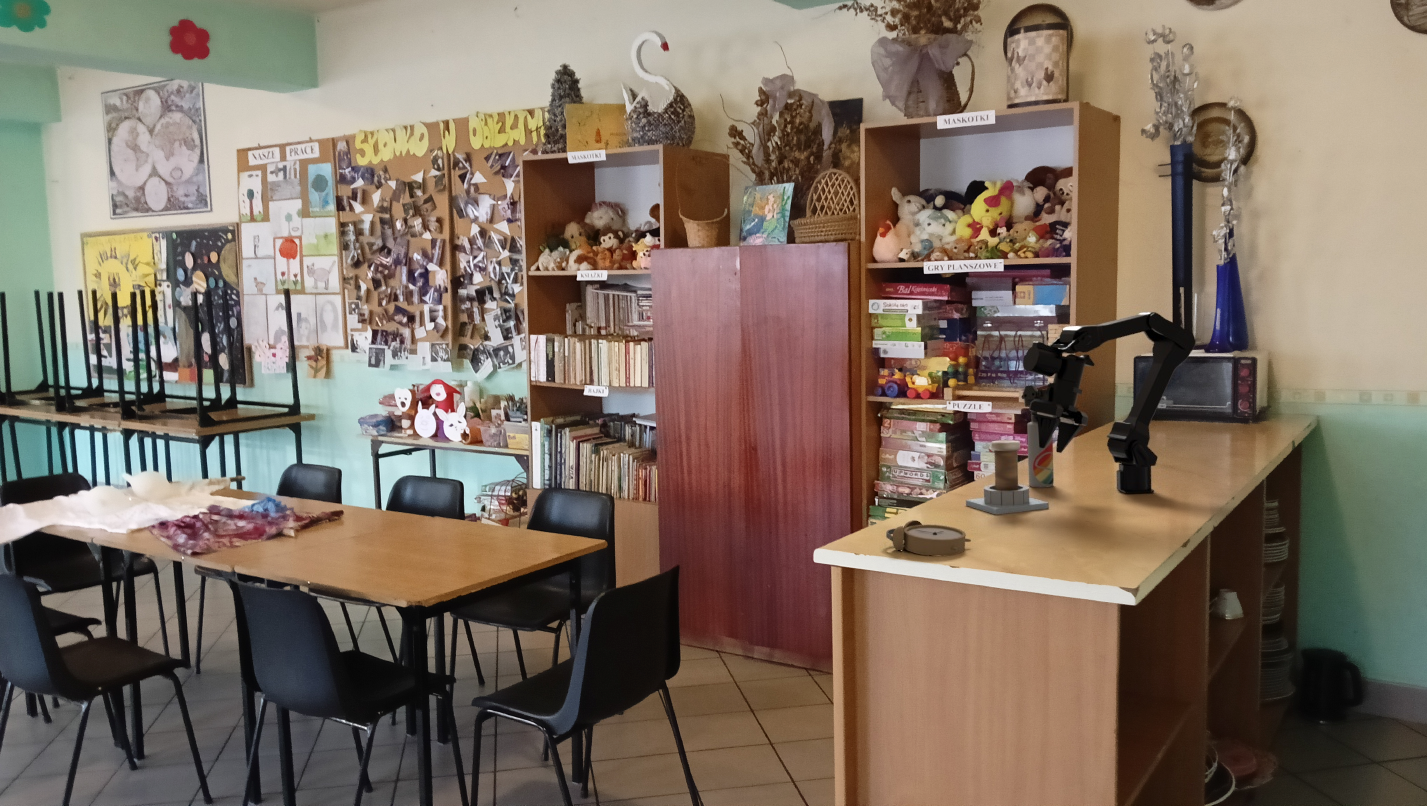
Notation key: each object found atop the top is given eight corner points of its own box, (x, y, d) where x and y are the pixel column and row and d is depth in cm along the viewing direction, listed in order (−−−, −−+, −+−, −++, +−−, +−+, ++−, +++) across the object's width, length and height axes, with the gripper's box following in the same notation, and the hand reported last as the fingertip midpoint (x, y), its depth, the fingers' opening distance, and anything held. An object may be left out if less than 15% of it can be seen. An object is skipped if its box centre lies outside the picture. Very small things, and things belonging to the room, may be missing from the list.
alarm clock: (954, 543, 190) (877, 523, 198) (950, 569, 191) (874, 548, 199) (975, 530, 200) (901, 511, 207) (972, 555, 200) (898, 535, 208)
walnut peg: (1022, 498, 235) (1020, 440, 234) (1020, 504, 229) (1019, 443, 228) (993, 498, 237) (992, 440, 236) (991, 503, 231) (990, 443, 230)
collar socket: (1016, 499, 241) (1016, 480, 240) (1048, 508, 229) (1048, 488, 229) (966, 505, 237) (965, 486, 237) (995, 514, 226) (995, 495, 225)
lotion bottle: (1055, 487, 253) (1053, 403, 251) (1030, 487, 254) (1027, 404, 252) (1052, 483, 258) (1050, 400, 256) (1027, 483, 259) (1025, 401, 257)
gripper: (1050, 382, 249) (1034, 447, 249) (1015, 368, 235) (998, 438, 235) (1096, 390, 241) (1079, 457, 242) (1063, 377, 227) (1046, 448, 228)
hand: (1050, 450), depth 237 cm, fingers open, 9 cm apart
